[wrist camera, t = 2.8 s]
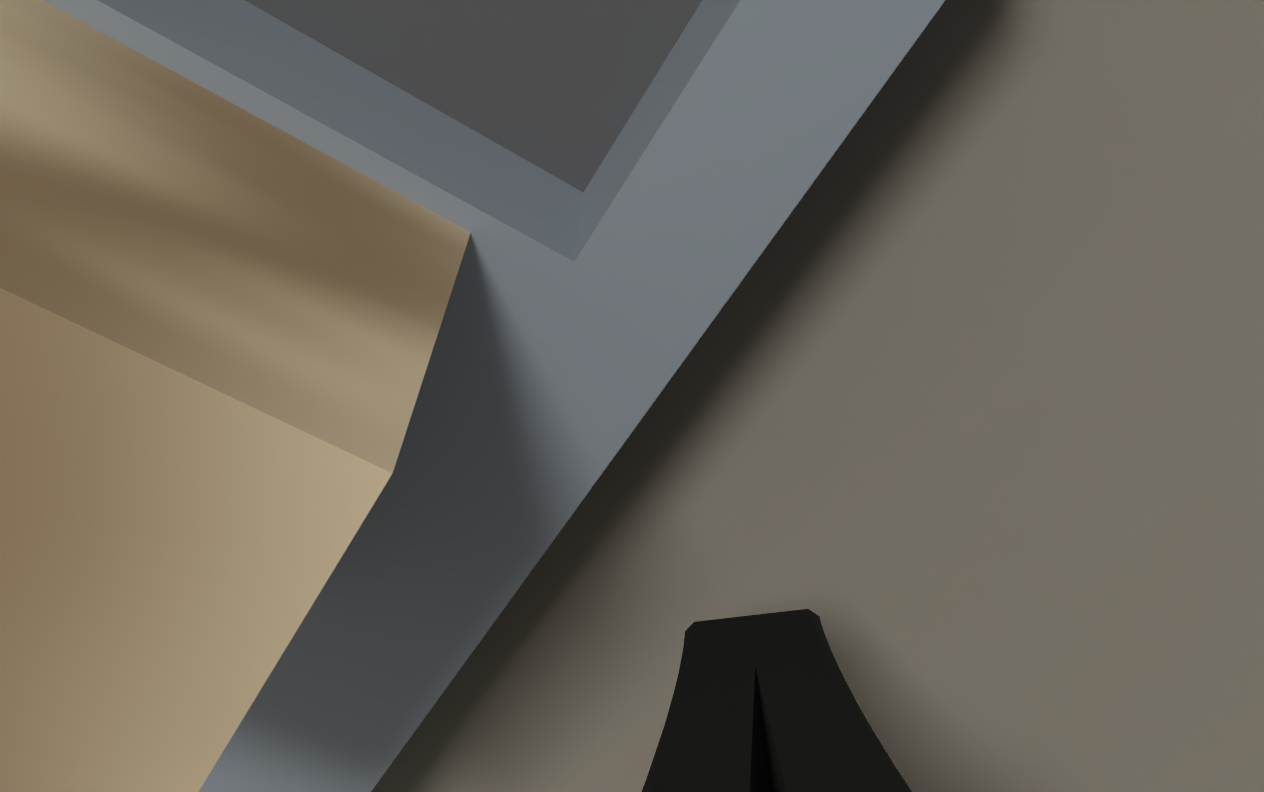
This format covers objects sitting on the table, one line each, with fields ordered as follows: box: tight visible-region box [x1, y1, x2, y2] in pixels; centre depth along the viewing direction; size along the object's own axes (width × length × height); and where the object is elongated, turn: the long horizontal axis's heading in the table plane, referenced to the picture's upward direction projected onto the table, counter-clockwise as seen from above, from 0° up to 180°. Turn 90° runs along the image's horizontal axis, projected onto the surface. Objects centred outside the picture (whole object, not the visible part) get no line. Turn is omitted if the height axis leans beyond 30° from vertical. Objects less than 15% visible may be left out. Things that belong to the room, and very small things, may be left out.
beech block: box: [0, 0, 471, 792], centre depth 10 cm, size 5×5×4 cm
